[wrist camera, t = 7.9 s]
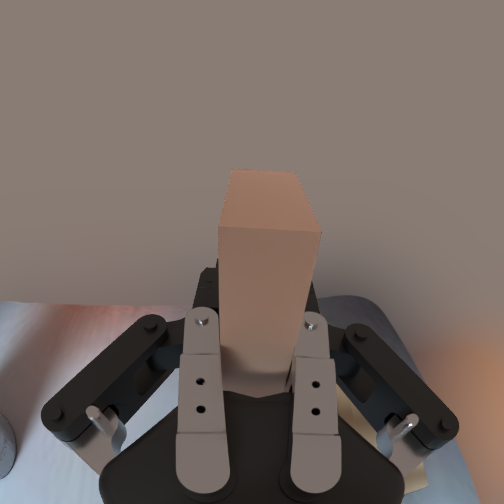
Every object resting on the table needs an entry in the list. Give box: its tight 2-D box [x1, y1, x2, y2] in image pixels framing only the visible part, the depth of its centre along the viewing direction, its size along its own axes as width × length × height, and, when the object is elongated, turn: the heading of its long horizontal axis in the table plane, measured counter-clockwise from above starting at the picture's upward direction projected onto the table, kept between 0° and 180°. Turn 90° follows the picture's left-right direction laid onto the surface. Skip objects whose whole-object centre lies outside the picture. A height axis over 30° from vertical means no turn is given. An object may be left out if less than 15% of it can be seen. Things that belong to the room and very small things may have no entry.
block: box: [218, 169, 322, 398], centre depth 12 cm, size 5×2×12 cm, turn 0°
